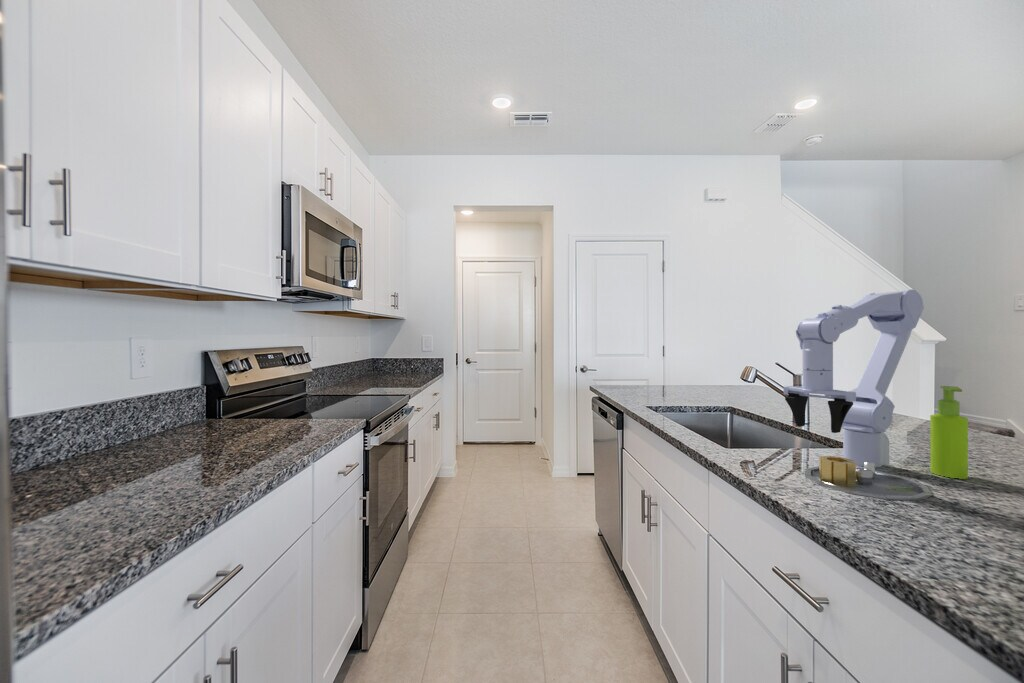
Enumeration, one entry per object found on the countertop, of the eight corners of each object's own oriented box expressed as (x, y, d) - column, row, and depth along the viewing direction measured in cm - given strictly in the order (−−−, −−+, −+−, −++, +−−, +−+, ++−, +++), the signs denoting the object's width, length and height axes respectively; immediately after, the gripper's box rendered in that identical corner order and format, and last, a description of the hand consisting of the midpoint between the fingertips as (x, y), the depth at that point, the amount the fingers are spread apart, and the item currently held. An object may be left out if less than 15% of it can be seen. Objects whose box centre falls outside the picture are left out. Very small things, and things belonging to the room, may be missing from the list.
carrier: (838, 467, 102) (838, 450, 102) (951, 495, 84) (951, 474, 84) (784, 479, 94) (784, 461, 94) (897, 512, 75) (897, 490, 75)
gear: (813, 478, 91) (813, 457, 91) (833, 475, 93) (833, 455, 93) (840, 487, 86) (840, 464, 86) (862, 484, 87) (862, 462, 87)
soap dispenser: (938, 478, 94) (938, 387, 94) (926, 469, 100) (926, 384, 100) (975, 482, 91) (975, 388, 91) (960, 473, 98) (960, 385, 98)
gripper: (775, 368, 103) (775, 425, 103) (842, 372, 90) (842, 437, 90) (793, 367, 106) (793, 422, 106) (861, 371, 93) (861, 434, 93)
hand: (817, 429), depth 99 cm, fingers open, 7 cm apart
